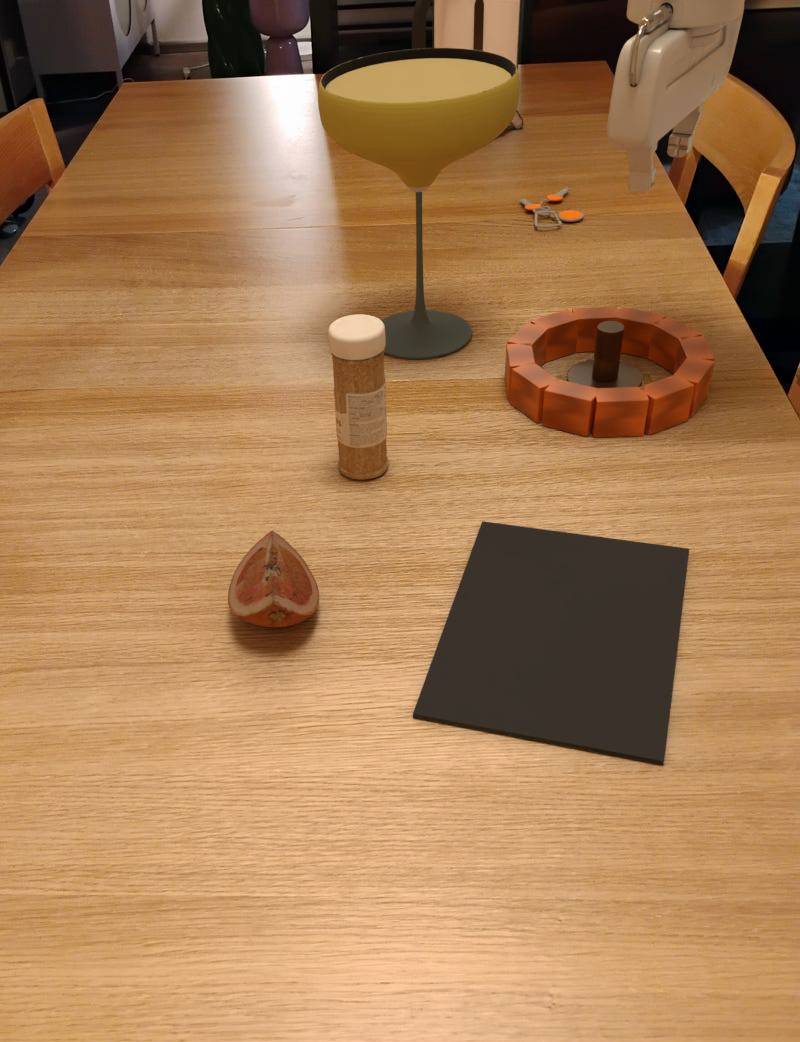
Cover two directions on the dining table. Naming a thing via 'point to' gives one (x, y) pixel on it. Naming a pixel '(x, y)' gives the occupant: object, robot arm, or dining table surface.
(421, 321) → the cocktail glass
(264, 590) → the fruit slice
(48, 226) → the dining table surface
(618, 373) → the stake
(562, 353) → the ring
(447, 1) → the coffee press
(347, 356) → the sprinkles bottle
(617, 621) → the mat
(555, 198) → the key chain
